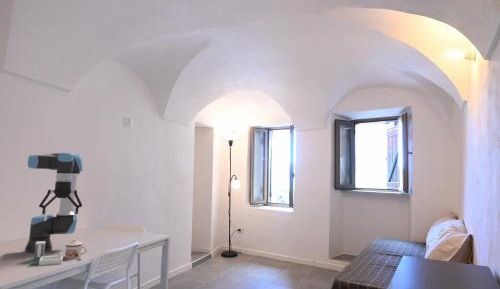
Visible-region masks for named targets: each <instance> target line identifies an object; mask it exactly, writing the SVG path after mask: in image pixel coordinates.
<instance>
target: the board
mask: <svg viewBox="0 0 500 289" xmlns="http://www.w3.org/2000/svg"><path fill="white" fill-rule="evenodd" d="M59 255H62V253H61V252H60V253H57V254H56V256H59ZM60 265H61V264H49V265H39V261H34V257H31V259H30V260H29V262H28V263H27V266H26V268H33V267H34V268H35V267H47V266H60Z"/></svg>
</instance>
